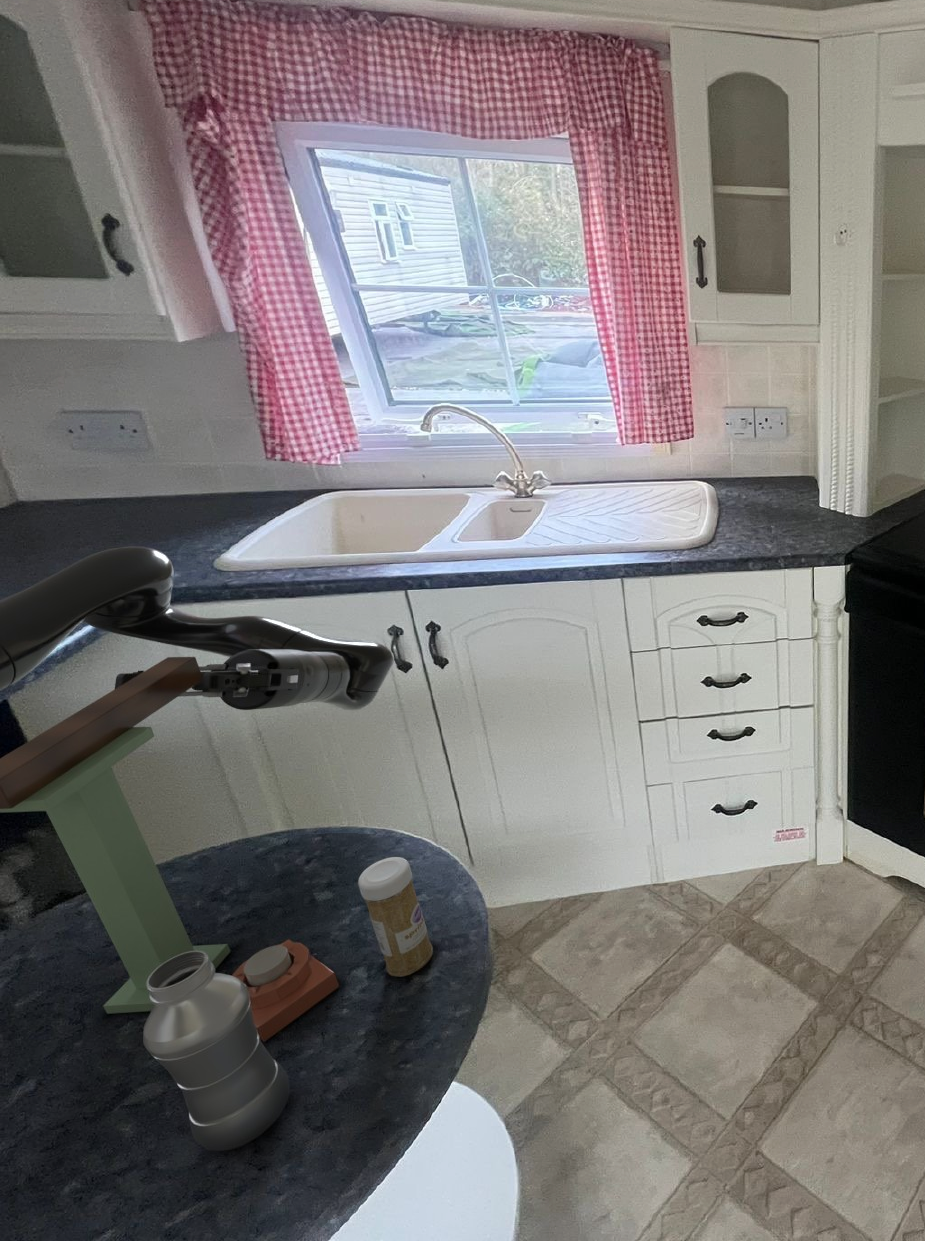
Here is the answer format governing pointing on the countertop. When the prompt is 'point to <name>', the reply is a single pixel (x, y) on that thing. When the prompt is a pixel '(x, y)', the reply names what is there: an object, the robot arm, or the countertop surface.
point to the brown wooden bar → (92, 728)
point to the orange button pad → (289, 991)
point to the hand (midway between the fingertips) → (162, 683)
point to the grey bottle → (213, 1051)
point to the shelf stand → (117, 867)
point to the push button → (267, 965)
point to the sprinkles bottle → (396, 915)
